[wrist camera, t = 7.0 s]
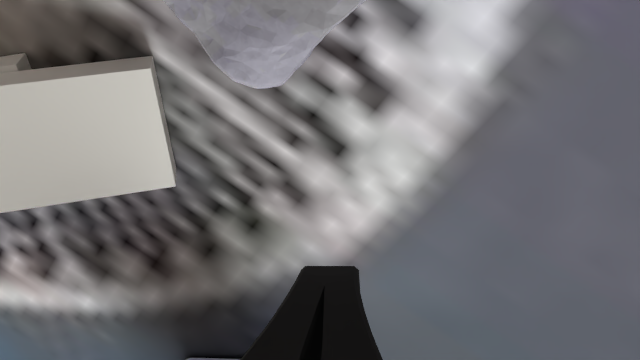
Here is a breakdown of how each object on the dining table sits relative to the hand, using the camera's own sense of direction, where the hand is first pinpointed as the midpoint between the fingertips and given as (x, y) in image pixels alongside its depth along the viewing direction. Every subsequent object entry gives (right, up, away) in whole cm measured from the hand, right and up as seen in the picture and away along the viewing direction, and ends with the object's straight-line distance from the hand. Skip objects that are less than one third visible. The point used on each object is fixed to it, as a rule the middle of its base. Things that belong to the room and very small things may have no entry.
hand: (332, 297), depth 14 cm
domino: (-6, +5, +8) cm, 12 cm away
